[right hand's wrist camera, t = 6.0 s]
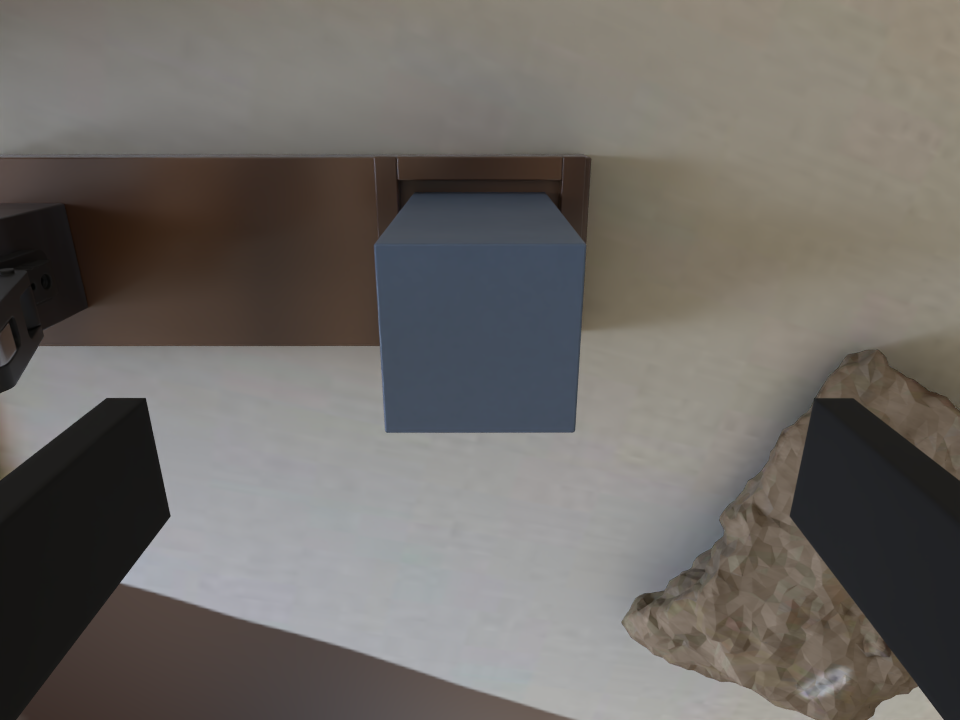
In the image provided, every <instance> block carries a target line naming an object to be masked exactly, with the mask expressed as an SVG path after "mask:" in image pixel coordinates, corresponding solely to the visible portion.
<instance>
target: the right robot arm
mask: <svg viewBox="0 0 960 720" xmlns="http://www.w3.org/2000/svg"><path fill="white" fill-rule="evenodd" d="M169 518H170V512H169V507H168V502H167V497H166V492H165V488H164V483H163V478H162V473H161V469H160V464H159V459H158V454H157V450H156V445H155V440H154V435H153V431H152V426H151V421H150V416H149V411H148V407H147V402H146V398H106V399H105V400H104V401H102V402H101V403H100V404H98V405H97V406H96V407H95V408H93V409H92V410H91V411H89V412H88V413H87V414H86V415H84V416H83V417H82V418H80V419H79V420H78V421H77V422H75V423H74V424H73V425H71V426H70V427H69V428H68V429H66V430H65V431H64V432H62V433H61V434H60V435H58V436H57V437H56V438H55V439H53V440H52V441H51V442H49V443H48V444H47V445H46V446H44V447H43V448H42V449H40V450H39V451H38V452H37V453H35V454H34V455H33V456H31V457H30V458H29V459H28V460H26V461H25V462H24V463H22V464H21V465H20V466H19V467H17V468H16V469H15V470H13V471H12V472H11V473H9V474H8V475H7V476H6V477H4V478H3V479H2V480H0V720H16V719H17V718H18V717H19V715H20V714H21V713H22V711H23V710H24V709H25V707H26V706H27V705H28V703H29V702H30V701H31V699H32V698H33V697H34V695H35V694H36V693H37V692H38V690H39V689H40V688H41V686H42V685H43V684H44V682H45V681H46V680H47V678H48V677H49V676H50V674H51V673H52V672H53V670H54V669H55V668H56V666H57V665H58V664H59V663H60V661H61V660H62V659H63V657H64V656H65V655H66V653H67V652H68V651H69V649H70V648H71V647H72V645H73V644H74V643H75V641H76V640H77V639H78V638H79V636H80V635H81V634H82V632H83V631H84V630H85V628H86V627H87V626H88V624H89V623H90V622H91V620H92V619H93V618H94V616H95V615H96V614H97V613H98V611H99V610H100V609H101V607H102V606H103V605H104V603H105V602H106V601H107V599H108V598H109V597H110V595H111V594H112V593H113V591H114V590H115V589H116V587H117V586H118V585H119V584H120V582H121V581H122V580H123V578H124V577H125V576H126V574H127V573H128V572H129V570H130V569H131V568H132V566H133V565H134V564H135V562H136V561H137V560H138V558H139V557H140V556H141V555H142V553H143V552H144V551H145V549H146V548H147V547H148V545H149V544H150V543H151V541H152V540H153V539H154V537H155V536H156V535H157V533H158V532H159V531H160V530H161V528H162V527H163V526H164V524H165V523H166V522H167V520H168V519H169ZM790 518H791V519H792V520H793V522H794V523H795V524H796V526H797V527H798V528H799V530H800V531H801V532H802V533H803V535H804V536H805V537H806V539H807V540H808V541H809V543H810V544H811V545H812V547H813V548H814V549H815V551H816V552H817V553H818V555H819V556H820V557H821V558H822V560H823V561H824V562H825V564H826V565H827V566H828V568H829V569H830V570H831V572H832V573H833V574H834V576H835V577H836V578H837V580H838V581H839V582H840V584H841V585H842V586H843V587H844V589H845V590H846V591H847V593H848V594H849V595H850V597H851V598H852V599H853V601H854V602H855V603H856V605H857V606H858V607H859V609H860V610H861V611H862V613H863V614H864V615H865V616H866V618H867V619H868V620H869V622H870V623H871V624H872V626H873V627H874V628H875V630H876V631H877V632H878V634H879V635H880V636H881V638H882V639H883V640H884V641H885V643H886V644H887V645H888V647H889V648H890V649H891V651H892V652H893V653H894V655H895V656H896V657H897V659H898V660H899V661H900V663H901V664H902V665H903V667H904V668H905V669H906V670H907V672H908V673H909V674H910V676H911V677H912V678H913V680H914V681H915V682H916V684H917V685H918V686H919V688H920V689H921V690H922V692H923V693H924V694H925V695H926V697H927V698H928V699H929V701H930V702H931V703H932V705H933V706H934V707H935V709H936V710H937V711H938V713H939V714H940V715H941V717H942V718H943V719H944V720H960V480H958V479H957V478H956V477H954V476H953V475H952V474H951V473H949V472H948V471H947V470H945V469H944V468H943V467H941V466H940V465H939V464H938V463H936V462H935V461H934V460H932V459H931V458H930V457H929V456H927V455H926V454H925V453H923V452H922V451H921V450H920V449H918V448H917V447H916V446H914V445H913V444H912V443H911V442H909V441H908V440H907V439H905V438H904V437H903V436H902V435H900V434H899V433H898V432H896V431H895V430H894V429H892V428H891V427H890V426H889V425H887V424H886V423H885V422H883V421H882V420H881V419H880V418H878V417H877V416H876V415H874V414H873V413H872V412H871V411H869V410H868V409H867V408H865V407H864V406H863V405H862V404H860V403H859V402H858V401H856V400H855V399H854V398H814V402H813V407H812V411H811V416H810V421H809V426H808V431H807V435H806V440H805V445H804V450H803V454H802V459H801V464H800V469H799V473H798V478H797V483H796V488H795V492H794V497H793V502H792V507H791V511H790Z"/></svg>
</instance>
